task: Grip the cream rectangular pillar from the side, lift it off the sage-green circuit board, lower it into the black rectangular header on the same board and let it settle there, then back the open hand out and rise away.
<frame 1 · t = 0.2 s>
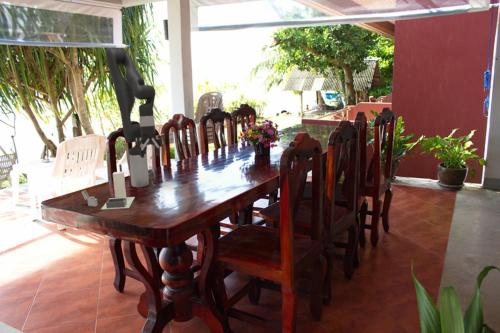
hand: (149, 156, 226), 18 cm above the table, tool pointing down, fingers open, 8 cm apart
board: (118, 205, 202), on the table
cream rectangular pillar: (120, 199, 207), point 1 cm above the table, touching board
lighter: (90, 208, 200), on the table
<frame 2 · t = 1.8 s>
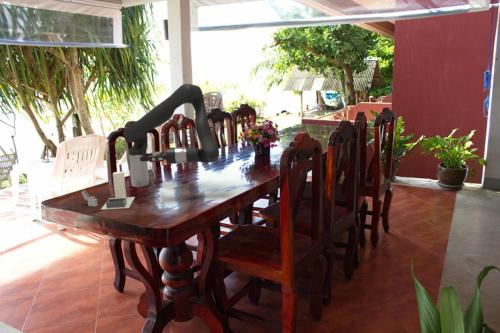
hand: (141, 157, 204), 21 cm above the table, tool horizontal, fingers open, 8 cm apart
nothing on the table moved.
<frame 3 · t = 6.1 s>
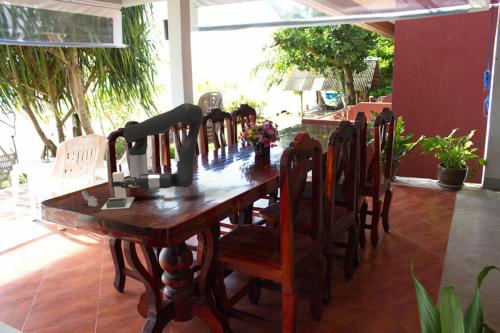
hand: (113, 183, 205), 9 cm above the table, tool horizontal, fingers closed on cream rectangular pillar, 3 cm apart
cream rectangular pillar: (120, 199, 207), point 1 cm above the table, touching board, gripper
everything else where it was.
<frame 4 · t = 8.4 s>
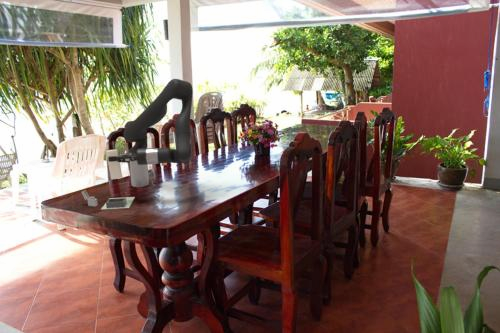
hand: (109, 158, 199), 22 cm above the table, tool horizontal, fingers closed on cream rectangular pillar, 2 cm apart
cream rectangular pillar: (116, 178, 201), point 13 cm above the table, touching gripper
everything else where it was.
when the fingers open (14 cm above the table, at t = 10.5 s): cream rectangular pillar drops 1 cm, resting on board.
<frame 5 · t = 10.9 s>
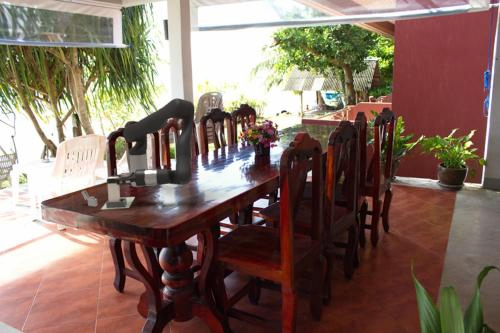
hand: (108, 179, 195), 14 cm above the table, tool horizontal, fingers open, 6 cm apart
cream rectangular pillar: (115, 205, 197), point 1 cm above the table, touching board
everything else where it was.
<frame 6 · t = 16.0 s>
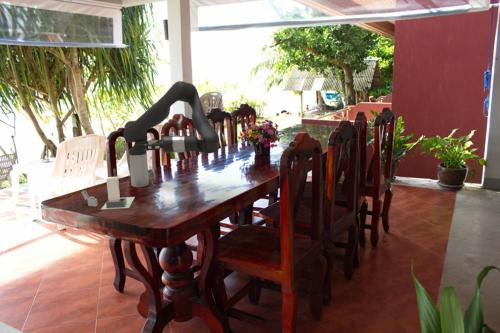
hand: (137, 145, 193), 28 cm above the table, tool horizontal, fingers open, 8 cm apart
nothing on the table moved.
at the end: cream rectangular pillar 0.8 cm from the target spot on the board, point 1.2 cm above the board's base; cream rectangular pillar tilted 0° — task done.
